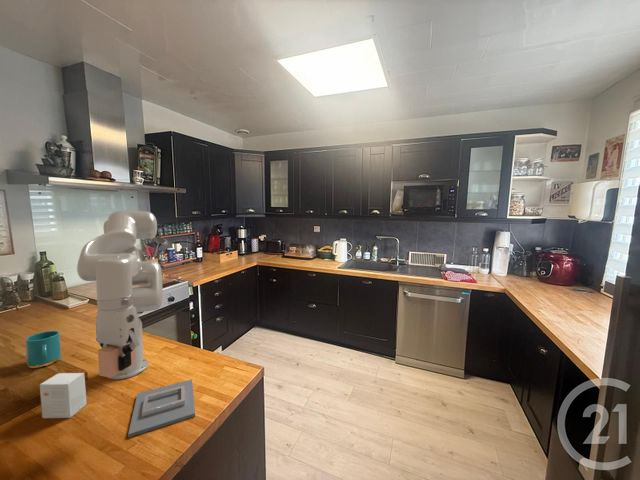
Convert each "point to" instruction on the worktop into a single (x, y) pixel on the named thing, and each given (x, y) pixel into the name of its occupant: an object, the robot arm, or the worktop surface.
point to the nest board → (162, 407)
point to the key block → (111, 360)
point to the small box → (63, 395)
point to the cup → (43, 348)
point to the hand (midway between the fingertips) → (118, 365)
